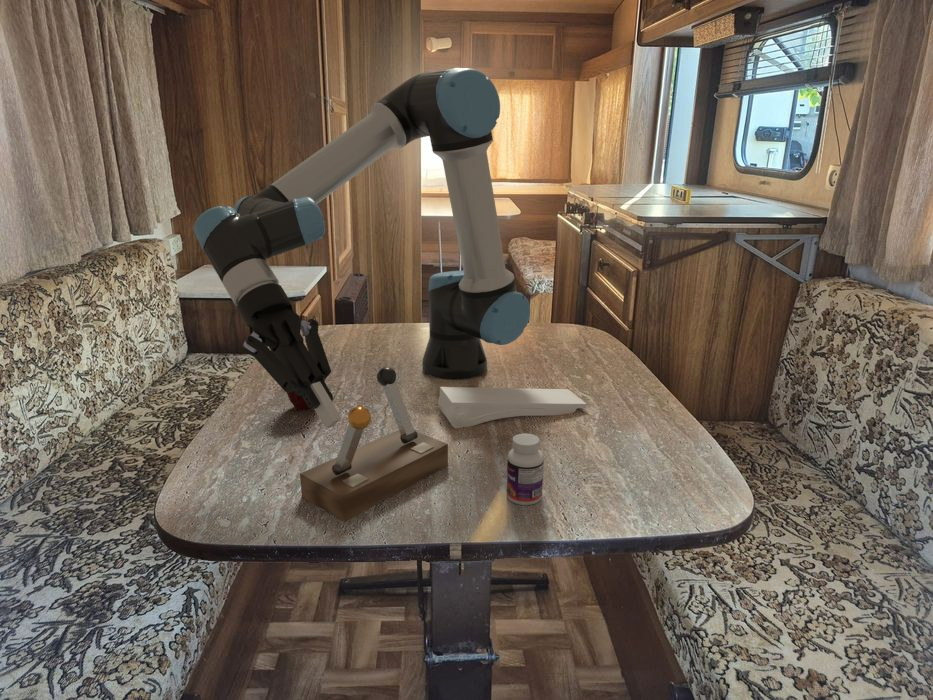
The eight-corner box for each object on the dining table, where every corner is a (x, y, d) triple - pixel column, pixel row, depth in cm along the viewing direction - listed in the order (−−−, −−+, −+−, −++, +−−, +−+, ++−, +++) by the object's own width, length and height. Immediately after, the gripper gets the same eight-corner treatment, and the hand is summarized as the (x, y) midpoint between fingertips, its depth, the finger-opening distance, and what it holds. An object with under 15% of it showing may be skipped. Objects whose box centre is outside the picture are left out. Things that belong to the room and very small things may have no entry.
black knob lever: (397, 446, 109) (370, 372, 109) (411, 439, 111) (384, 367, 111) (409, 442, 107) (381, 367, 107) (423, 436, 109) (396, 362, 109)
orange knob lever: (325, 467, 99) (346, 405, 91) (342, 459, 101) (364, 399, 94) (338, 482, 97) (360, 420, 90) (355, 474, 100) (378, 413, 92)
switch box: (301, 497, 101) (299, 472, 99) (405, 447, 116) (405, 426, 115) (344, 521, 94) (342, 495, 93) (448, 465, 110) (447, 442, 109)
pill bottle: (504, 488, 103) (505, 431, 100) (538, 487, 104) (540, 430, 101) (509, 507, 98) (510, 447, 95) (545, 505, 99) (547, 446, 96)
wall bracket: (562, 422, 141) (435, 422, 132) (564, 388, 141) (437, 386, 131) (586, 430, 132) (451, 431, 122) (588, 393, 131) (453, 391, 122)
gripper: (284, 301, 110) (356, 421, 105) (212, 317, 100) (287, 449, 95) (302, 274, 105) (378, 398, 100) (227, 288, 95) (307, 426, 90)
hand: (333, 423), depth 98 cm, fingers closed
